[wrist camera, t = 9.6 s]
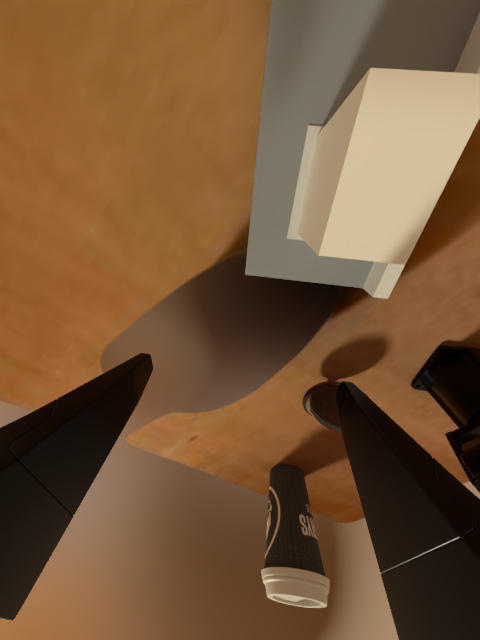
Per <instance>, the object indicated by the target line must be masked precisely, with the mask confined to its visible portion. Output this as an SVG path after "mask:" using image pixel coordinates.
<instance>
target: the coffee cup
mask: <svg viewBox="0 0 480 640" xmlns="http://www.w3.org/2000/svg"><path fill="white" fill-rule="evenodd" d="M266 537H267V539H266V552H265V567H264V569H262V570H261V573H262V578H263V583H264V585H265V586H266V593H267V597H268V598H270V599H272V600H274V601H277V602H281V603H285V604H289V605H295V606H300V607H309V608H324V607H326V606H327V594H328V593H329V579H328V578H326V577H325V573H324V569H323V564H322V559H321V555H320V550H319V545H318V541H317V536H316V531H315V527H314V522H313V517H312V512H311V508H310V503H309V498H308V493H307V489H306V484H305V479H304V474H303V472H302V471H301V470H300V469H299V468H297V467H294V466H289V465H280V466H276V467H273V468H272V469H271V471H270V484H269V502H268V520H267V536H266Z"/></svg>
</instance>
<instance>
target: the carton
mask: <svg viewBox="0 0 480 640" xmlns="http://www.w3.org/2000/svg"><path fill="white" fill-rule="evenodd" d="M479 117H480V74H473V73H455V72H438V71H420V70H402V69H385V68H370V69H369V70H368V72H367V73H366V74H365V75H364V77H363V78H362V79H361V81H360V82H359V83H358V84H357V86H356V87H355V88H354V89H353V91H352V92H351V93H350V95H349V96H348V97H347V98H346V100H345V101H344V102H343V104H342V105H341V106H340V107H339V109H338V110H337V111H336V113H335V114H334V115H333V116H332V118H331V119H330V120H329V122H328V123H327V124H326V125H325V127H324V128H323V129H322V130H321V132H320V133H319V134H318V136H317V138H316V143H315V148H314V153H313V157H312V162H311V167H310V172H309V176H308V181H307V186H306V191H305V196H304V200H303V205H302V210H301V215H300V219H299V224H298V229H297V234H298V235H299V236H300V237H301V238H302V239H303V240H304V241H305V242H306V243H307V244H308V245H309V246H310V247H311V248H312V249H313V250H314V252H315V253H316V254H317V255H318V256H327V257H336V258H346V259H355V260H364V261H374V262H383V263H392V264H401V265H405V263H406V261H407V260H408V258H409V256H410V254H411V252H412V250H413V248H414V246H415V244H416V242H417V240H418V238H419V236H420V234H421V232H422V230H423V228H424V226H425V224H426V222H427V220H428V218H429V216H430V214H431V212H432V210H433V208H434V206H435V204H436V202H437V200H438V198H439V196H440V194H441V192H442V190H443V188H444V186H445V184H446V182H447V181H448V179H449V177H450V175H451V173H452V171H453V169H454V167H455V165H456V163H457V161H458V159H459V157H460V155H461V153H462V151H463V149H464V147H465V145H466V143H467V141H468V139H469V137H470V135H471V133H472V131H473V129H474V127H475V125H476V123H477V121H478V119H479Z"/></svg>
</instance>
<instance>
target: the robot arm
mask: <svg viewBox="0 0 480 640" xmlns="http://www.w3.org/2000/svg"><path fill="white" fill-rule="evenodd" d="M152 370H153V364H152V359H151V356H150V354H145V353H141V354H139V355H137V356H135V357H133V358H131V359H129V360H128V361H126V362H124V363H122V364H120V365H118V366H117V367H115V368H113V369H111V370H109V371H107V372H106V373H104V374H102V375H100V376H98V377H96V378H95V379H93V380H91V381H89V382H87V383H85V384H84V385H82V386H80V387H78V388H76V389H74V390H72V391H71V392H69V393H67V394H65V395H63V396H61V397H60V398H58V400H57V399H56V400H54V401H52V402H50V403H49V404H47V405H45V406H43V407H41V408H39V409H37V410H35V411H33V412H32V413H30V414H28V415H26V416H24V417H22V418H20V419H18V420H16V421H14V422H12V423H10V424H8V425H6V426H4V427H1V428H0V619H6V620H14V618H15V617H16V615H17V614H18V612H19V610H20V609H21V607H22V605H23V604H24V602H25V600H26V598H27V597H28V595H29V593H30V591H31V590H32V588H33V586H34V584H35V583H36V581H37V579H38V577H39V576H40V574H41V572H42V570H43V568H44V567H45V565H46V563H47V562H48V560H49V558H50V556H51V555H52V553H53V551H54V549H55V548H56V546H57V544H58V542H59V541H60V539H61V537H62V535H63V534H64V532H65V530H66V528H67V527H68V525H69V523H70V521H71V520H72V518H73V515H74V514H75V512H76V511H77V509H78V507H79V505H80V504H81V502H82V500H83V498H84V497H85V495H86V493H87V491H88V490H89V488H90V486H91V484H92V483H93V481H94V479H95V477H96V475H97V474H98V472H99V470H100V469H101V467H102V465H103V463H104V461H105V460H106V458H107V456H108V455H109V453H110V451H111V449H112V447H113V446H114V444H115V442H116V441H117V439H118V437H119V435H120V433H121V432H122V430H123V428H124V427H125V425H126V423H127V421H128V420H129V418H130V416H131V414H132V413H133V411H134V409H135V407H136V405H137V404H138V402H139V400H140V398H141V396H142V394H143V391H144V389H145V387H146V384H147V382H148V380H149V377H150V375H151V373H152ZM411 386H412V387H413V388H414V389H417V390H424V391H428V392H429V393H430V395H431V396H432V397H433V398H434V399H435V400H436V402H437V403H438V404H439V405H440V406H441V407H442V409H443V410H444V411H445V412H446V413H447V414H448V416H449V417H450V418H451V419H452V420H453V422H454V423H455V424H456V425H457V426H458V427H459V428H458V429H456V430H454V431H452V432H451V431H450V432H448V433H446V434H445V435H446V437H447V439H448V441H449V443H450V445H451V447H452V449H453V451H454V452H455V454H456V456H457V458H458V460H459V462H460V463H461V465H462V467H463V469H464V471H465V473H466V474H467V476H468V478H469V480H470V482H471V483H472V484H473V485H474V486H475V487H476V489H477V490H478V491H479V492H480V349H474V348H459V347H451V346H441V347H439V348H438V349H437V350H436V351H435V353H434V354H433V355H432V357H431V358H430V359H429V361H428V362H427V363H426V365H425V366H424V367H423V369H422V370H421V371H420V373H419V374H418V375H417V377H416V378H415V379H414V381H413V382H412V383H411ZM336 403H337V409H338V415H339V421H340V427H341V432H342V436H343V440H344V443H345V447H346V451H347V454H348V458H349V461H350V465H351V468H352V472H353V476H354V479H355V483H356V486H357V490H358V494H359V497H360V501H361V504H362V508H363V511H364V515H365V519H366V522H367V526H368V529H369V533H370V537H371V540H372V544H373V547H374V551H375V554H376V558H377V561H378V565H379V569H380V572H381V573H382V574H381V576H382V580H383V583H384V587H385V591H386V594H387V598H388V602H389V605H390V609H391V612H392V616H393V619H394V623H395V627H396V630H397V634H398V637H399V640H480V499H479V498H478V497H477V496H475V495H474V494H473V493H472V492H471V491H470V490H468V489H467V488H466V487H465V486H464V485H463V484H462V483H460V482H459V481H458V480H457V479H456V478H455V477H454V476H453V475H452V474H451V473H449V472H448V471H447V470H446V469H445V468H444V467H443V466H442V465H441V464H440V463H439V462H437V461H436V460H435V459H434V458H432V456H431V455H430V454H429V453H428V452H427V451H425V450H424V449H423V448H422V447H421V446H420V445H419V444H418V443H417V442H416V441H415V440H414V439H413V438H411V437H410V436H409V435H408V434H407V433H406V432H405V431H404V430H403V429H402V428H401V427H400V426H399V425H397V424H396V423H395V422H394V421H393V420H392V419H391V418H390V417H389V416H388V415H387V414H386V413H385V412H383V411H382V410H381V409H380V408H379V407H378V406H377V405H376V404H375V403H374V402H373V401H372V400H371V399H369V398H368V397H367V396H366V395H365V394H364V393H363V392H362V391H361V390H360V389H359V388H358V387H357V386H355V385H354V384H353V383H351V382H345V381H343V382H341V384H340V386H339V388H338V390H337V392H336Z"/></svg>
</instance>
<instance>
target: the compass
mask: <svg viewBox="0 0 480 640" xmlns="http://www.w3.org/2000/svg"><path fill="white" fill-rule="evenodd" d="M338 388H339V387H335V386H321V387H317V388H314V389H312V390H310V391H309V392H308V393H307V394H306V395H305V396H304V398H303V406H304V409H305V411H306V412H307V413H308V414H310V415H312V416H314V417H315V418H316V419H317V420H318V421H319V422H320V423H321V424H322V425H324V426H325V427H327V428H328V429H331V430H333V431H336V432H339V433H342V432H341V427H340V421H339V415H338V409H337V403H336V392H337V390H338Z"/></svg>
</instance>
